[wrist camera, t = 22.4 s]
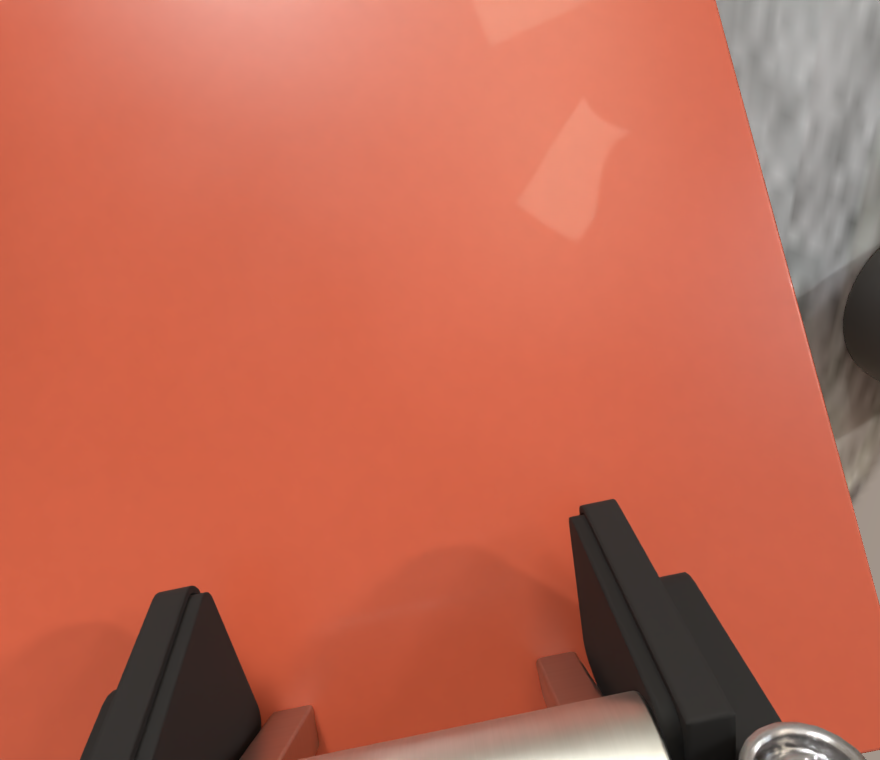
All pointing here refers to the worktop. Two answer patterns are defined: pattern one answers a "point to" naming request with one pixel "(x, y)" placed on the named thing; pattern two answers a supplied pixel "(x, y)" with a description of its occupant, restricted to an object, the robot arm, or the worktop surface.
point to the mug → (865, 318)
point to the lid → (402, 368)
